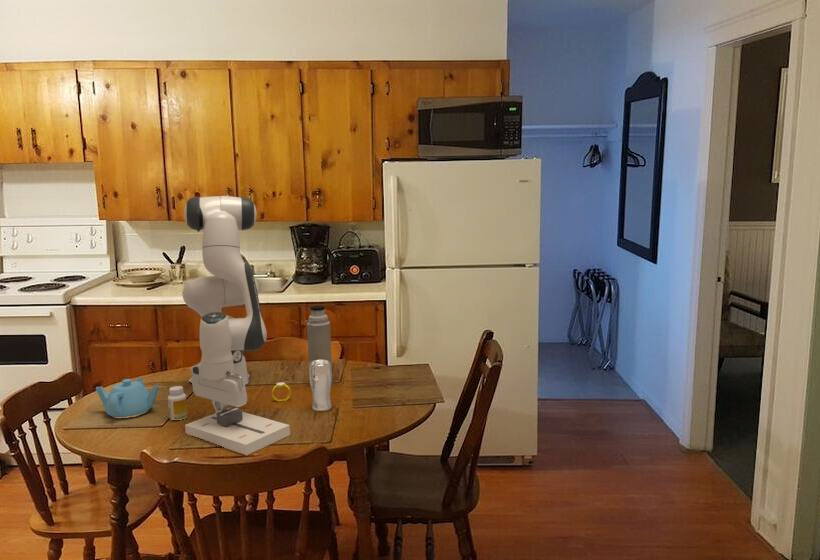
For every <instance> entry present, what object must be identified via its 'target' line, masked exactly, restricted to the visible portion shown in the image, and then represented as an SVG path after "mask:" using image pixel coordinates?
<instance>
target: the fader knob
mask: <svg viewBox="0 0 820 560" xmlns="http://www.w3.org/2000/svg"><path fill="white" fill-rule="evenodd" d="M229 408H230V409H227V410H224V411H222V412H219V413H217V414H216V415H217V424H220V425H223V426H229V425H231V424H233V423H236V422H238V421H241V420H243V416H242V412H243V409H241V408H239V407H234V406H231V407H229Z"/></svg>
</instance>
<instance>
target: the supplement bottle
mask: <svg viewBox="0 0 820 560" xmlns="http://www.w3.org/2000/svg"><path fill="white" fill-rule="evenodd" d="M168 391H169V395H168V397H167V404H168V419H169V420H170V419H171V420H170V421H172V420H180V421H183V420H182V419H184V420H186V419H187V418H188V417H189V416H188V415H189V413H188V402H187V401H188V400H187V394H186V393H184V387H183V385H182V386H181V385H176V386H175V385H174V386H172V387H171V386H170V387H169V390H168ZM185 418H186V419H185Z"/></svg>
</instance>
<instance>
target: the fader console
mask: <svg viewBox="0 0 820 560" xmlns="http://www.w3.org/2000/svg"><path fill="white" fill-rule="evenodd" d="M230 408H231V407H228V408H227V409H230ZM242 416H243V420H241V421H238V422H236V423H233V424H231V425H229V426H223V425H220V424H217V415H216V412H215V413H212V414H210V415H207V416H204V417H202V418H199V419H197V420H194V421H192V422H188V423H187V424H184V428H185V429H184V430H185V434H186V433H187V434H190V435H193V436H196V437H199V438H201V439H205V440H207V441H210V442H212V443H215V444H217V445H216V446H218V445H220V446H222V447H221V448H223V447H224V448H223V449H227V450H230V451H232V452H235V453H239V454H242V455H244V456H248V455H251V454H253V453H255V452H257V451H260V450H261V449H264V448H266V447H268V446H271V445H272V444H274V443H276V442H278V441H280V440H283V439H284V438H287V437H289V436H290V435H291V430H290V424H287V423H283V422H280V421H277V420H273V419H269V418H265V417H263V416H259V415H257V414H256V415H255V414H251V413H248V412H245V411H242ZM212 443H211V444H212ZM215 444H214V445H215ZM220 446H219V447H220Z"/></svg>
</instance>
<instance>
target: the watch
mask: <svg viewBox="0 0 820 560" xmlns="http://www.w3.org/2000/svg"><path fill="white" fill-rule="evenodd" d="M282 387H285V388H287V391H288V392H289V393H288V396H287V397H286V398H281V399H279V398H277V397H275V395H274V392H275V389H277V388H282ZM291 395H292V392H291V388H290V386H289V385H288V384H286V383H285V382H281V381H280V382H277V383H276V384H275V385H274V386H273V388H272V391H271V396H272V398H273V400H274V401H275V402H287V401H288V400H289V399H290V397H291Z"/></svg>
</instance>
